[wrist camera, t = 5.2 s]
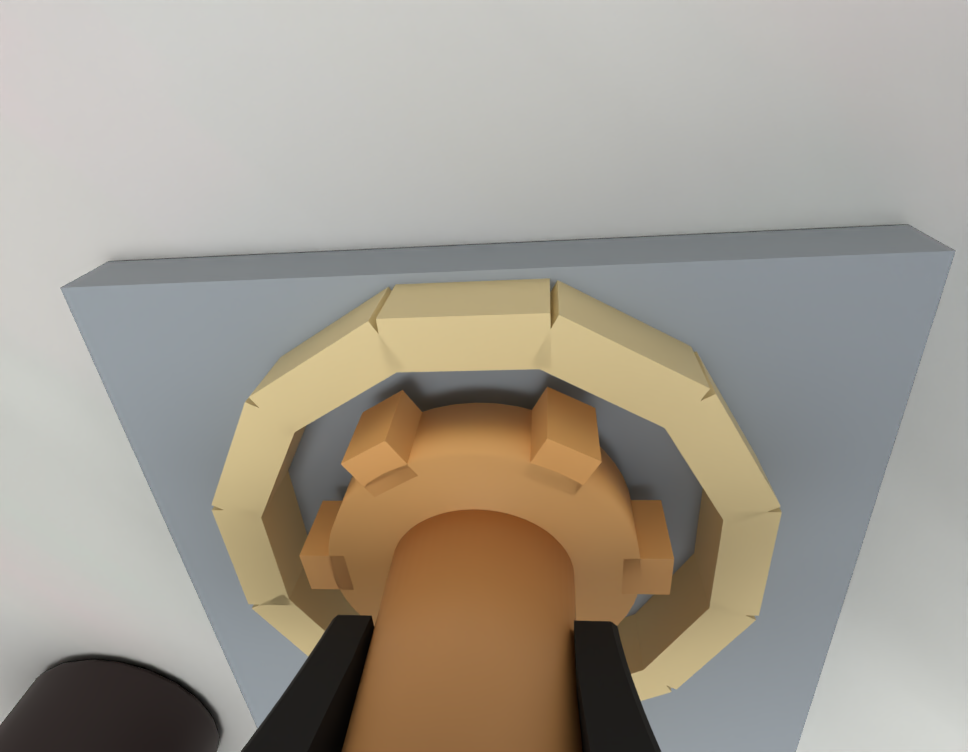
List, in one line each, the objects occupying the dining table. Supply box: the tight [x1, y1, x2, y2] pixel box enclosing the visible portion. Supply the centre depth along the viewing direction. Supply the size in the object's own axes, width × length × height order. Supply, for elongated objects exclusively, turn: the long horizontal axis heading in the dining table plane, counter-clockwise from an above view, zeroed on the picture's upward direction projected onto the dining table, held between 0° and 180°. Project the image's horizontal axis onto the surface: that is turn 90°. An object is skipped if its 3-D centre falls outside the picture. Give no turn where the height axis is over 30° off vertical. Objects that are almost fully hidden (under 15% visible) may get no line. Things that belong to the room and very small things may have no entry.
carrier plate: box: [61, 225, 955, 752], centre depth 15 cm, size 16×19×4 cm
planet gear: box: [299, 387, 674, 752], centre depth 10 cm, size 7×7×6 cm
